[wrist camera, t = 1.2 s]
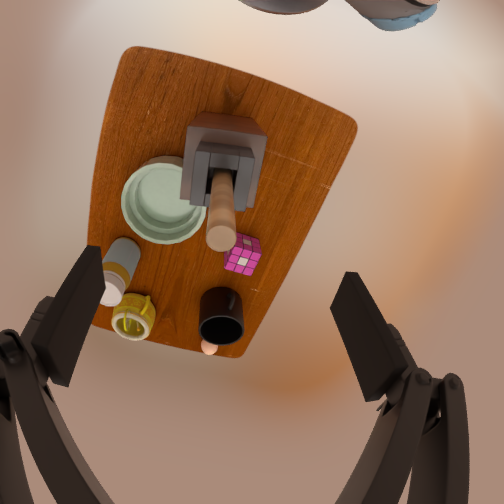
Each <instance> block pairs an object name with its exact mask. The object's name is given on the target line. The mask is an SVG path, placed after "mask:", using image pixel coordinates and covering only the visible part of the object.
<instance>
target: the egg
mask: <svg viewBox="0 0 504 504" xmlns="http://www.w3.org/2000/svg"><path fill="white" fill-rule="evenodd" d="M201 347H202V350H203V351H204V353H205V354H208V355H212V354H214V353H215V352H216V350H217V348H218V345H213V344H210V343H208V342H206V341H205V340H202V342H201Z"/></svg>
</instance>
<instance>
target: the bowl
mask: <svg viewBox="0 0 504 504" xmlns="http://www.w3.org/2000/svg"><path fill="white" fill-rule="evenodd" d="M182 168H183V159H182V158H180V157H177V156H165V155H164V156H159V157H155V158H152V159H150V160H148V161H147V162H145V163H143V164H142V165H141V166H140V167H139V168H138V169H137V170H136V171H135V172H134V173H133V174H132V175H131V177H130V178H129V179H128V181H127V182H126V183H125V186H124V189H123V192H122V195H121V208H122V211H123V214H124V217H125V220H126V222H127V223H128V224H129V226H130V227H131V228H132V230H133V231H134V232H136V233H137V234H138V235H139V236H141V237H142V238H144V239H146V240H149V241H151V242H154V243H159V244H173V243H179V242H181V241H183V240H185V239H187V238H189V237H191V236H192V235H193V234H194V233H195V232H196V231H197V230H198V229H199V228H200V227H201V224H202V222H203V220H204V218H205V216H206V208H207V207H204V206H194V205H189V203H190V200H181V199H180V189H181V178H182Z"/></svg>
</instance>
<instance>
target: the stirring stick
mask: <svg viewBox="0 0 504 504" xmlns="http://www.w3.org/2000/svg"><path fill="white" fill-rule="evenodd" d="M236 240H237V236H236V224H235V211H234V197H233V184H232V170H231V169H223V168H215V167H214V172H213V180H212V188H211V196H210V204H209V213H208V222H207V231H206V242H207V244H208V246H209V247H210V248H211V249H213V250H215V251H219V252H224V251H227V250H229V249H231V248H232V247H233V246H234V245H235V243H236Z"/></svg>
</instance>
